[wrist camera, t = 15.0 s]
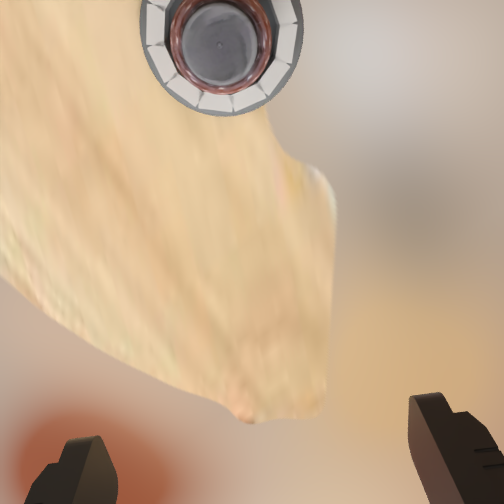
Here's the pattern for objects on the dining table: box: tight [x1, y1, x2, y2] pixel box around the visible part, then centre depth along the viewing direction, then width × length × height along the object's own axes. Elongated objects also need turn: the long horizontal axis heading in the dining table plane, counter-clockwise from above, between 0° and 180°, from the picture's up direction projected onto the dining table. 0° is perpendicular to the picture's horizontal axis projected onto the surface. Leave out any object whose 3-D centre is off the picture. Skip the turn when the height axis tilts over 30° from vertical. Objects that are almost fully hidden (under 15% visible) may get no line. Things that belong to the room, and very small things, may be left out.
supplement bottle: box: [170, 0, 272, 95], centre depth 29 cm, size 6×6×11 cm
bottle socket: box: [140, 0, 304, 116], centre depth 33 cm, size 12×12×4 cm
